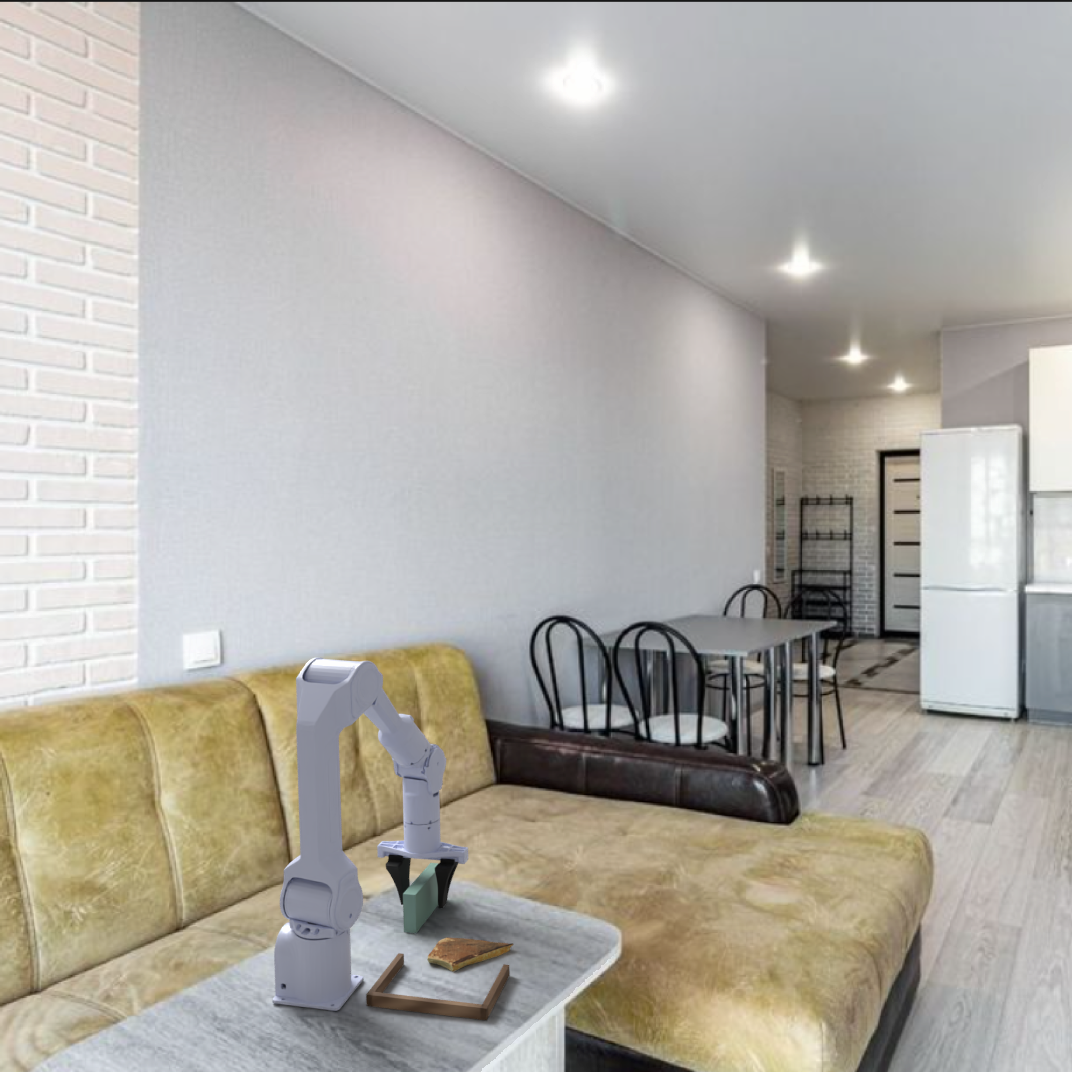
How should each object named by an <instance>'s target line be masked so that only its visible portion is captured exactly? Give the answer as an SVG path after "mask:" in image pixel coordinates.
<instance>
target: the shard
mask: <svg viewBox="0 0 1072 1072" xmlns="http://www.w3.org/2000/svg"><path fill="white" fill-rule="evenodd" d="M513 946H514V943H508V942H496V941H495V942H494V941H489V940H484V939H483V940H482V939H475V938H463V937H461V938H460V937H445V938H442V939H440V940H439V941H437V942H436V943H435V946H434V948H433V949H432V950H431V952H429V953H428V955H427V962H428V963H429V964H433V965H434V964H435V965H438V966H441V967H443V968H445V969H447V970H449V971H450V972H451V973H453V972H456V971H458V970H460V969H462V968H464V967H466V966H469V965H474V964H476V963H481V962H484V961H487V960H490V959H493V958H497V957H499V956H501V955H503V954H506V953H508V952H510V951H511V948H512V947H513Z"/></svg>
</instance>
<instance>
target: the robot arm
mask: <svg viewBox="0 0 1072 1072" xmlns="http://www.w3.org/2000/svg"><path fill="white" fill-rule="evenodd" d="M295 684H296V685H295V686H296V692H295V693H296V713H297V714H296V717H297V718H296V726H295V727H296V728H295V729H296V730H295V731H296V733H295V734H296V757H297V758H296V759H297V760H296V763H297V787H298V788H297V789H298V792H297V793H298V818H299V819H298V822H299V850H300V852H299V855H298V856H297V857H295V858H294V859H293V860H292V861H290V862H289V863H288V864H287V866H285V868H284V869H283V883H282V888H281V890H280V895H279V909H280V913H281V915H282V916H283V917H284V918H285V919H287V920H288V921H289V922H286V923H285V924H284V925H282V927H281V928H280V930H279V932H278V933H277V936H276V939H275V940H276V941H275V945H274V951H273V953H274V954H273V955H274V956H273V959H274V961H273V962H274V989H275V991H274V992H275V993H274V995H275V996H273V998H272V1003H273V1004H278V1005H286V1006H295V1007H303V1008H311V1009H320V1010H328V1011H333V1012H335V1011H339V1010H340V1009H341V1008H342V1007H343V1006H344V1004H345V1003H346V1001H348V1000H349V998H350V997H351V996H352V995H353V994H354V992H355V991H356V990H357V988H358V987H359V986H360V984H361V983H363V981H364V976H363V975H360V974H352V956H351V955H352V952H351V928H352V927H353V926H354V925H355V924H356V922H357V921H358V920H359V917H360V914H361V913H362V909H363V904H364V893H363V888H362V886H361V884H360V881H359V876H358V875H359V874H358V867H357V866H356V864H355V863H354V862H353V861H352V860H351V859H350V858H349V856H348V855H347V854H346V853H345V852H344V851H343V835H342V834H343V833H342V832H343V831H342V830H343V829H342V801H341V800H342V799H341V798H342V797H341V796H342V795H341V794H342V793H341V769H340V768H341V767H340V766H341V765H340V763H341V762H340V734H341V733H342V732H343V730H344V729H345V728H347V727H350V726H352V725H353V724H354V723H355V722H356V721H357V720H358V719H359V718H360V717H361V716H362V715H364V716H365V717H366V718H368V720H369V721H371V722H372V724H373V725H374V726H375V727H376V728H377V729H378V732H377V739H378V741H379V743H380V745H382V747H383V748H384V749H385V750H386V751H387V753H388V754H389V755H390V757H391V760H392V763H393V770H394V773H395V776H398V777H399V778H402V809H403V813H402V815H403V817H402V819H403V840H392V841H391V840H389V841H387V840H381V841H380V843H379V844H377V846H376V847H377V849H376V850H377V858H379V859H380V858H381V859H382V858H385V857H388V859H387V862H386V863H385V870H386V871H387V872H388V874H389V875H390V878H392V881H393V883H394V885H395V888H396V891H397V893H398V898H399V902H400V904H401V906H403V893H404V892H405V891H406V890H407V889H408V888H409V886H410V885H411V883H410V882H411V881H410V872H411V870H410V869H411V861H412V859H414V860H417V859H420V860H430V861H431V860H432V861H439V864H438V865H437V866H436V867H435V874H436V878H437V885H438V906H437V908H438V909H444V908H445V907H446V905H447V903H448V897H449V892H450V887H451V883H452V880H453V878H454V875H455V872H456V869H457V868H458V865H459V864H461V865H465V864H466V863H467V862H468V860H469V847H468V846H460V845H456V844H451V843H448V842H444V841H441V840H442V839H441V808H440V807H441V805H440V803H441V802H440V800H441V799H440V791H441V790H442V787H443V785H444V784H443V781H444V780H443V779H444V773H445V771H446V767H447V757H446V756H445V752H444V750H443V749H442V748H441V747H440V746H439V745H438V744H437V743H436V744H435V743H430V742H429V739H427V737H426V735H425V734H424V733H423V732H422V730H421V729H420V728H419V727H418V725H417V724H416V723H415V722H414V721H415V719H414V717H413V716H412V715H411V714H406V713H398V711H397V709H396V707H395V706H394V705H393V703H392V701H391V700H390V698H389V696H388V695H387V693H386V692H385V690H384V688H383V685H384V675H383V674H382V672H380V671H379V669H378V667H377V665H376V664H375V663H374V662H372V661H370V660H362V661H357V660H342V659H329V658H323V657H313V658H311V659H310V660H308V661H307V662H306V663H305V665H304V666H303V668H302V669H301V670H300V672H299V673H298V674H297V677H296V678H295Z"/></svg>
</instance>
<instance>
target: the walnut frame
mask: <svg viewBox="0 0 1072 1072" xmlns="http://www.w3.org/2000/svg"><path fill="white" fill-rule="evenodd" d="M404 965H405V954H404V953H400V952H398V953H397V954H396V956H395V957H394V959H392V960H391V962H390V964H389V965H388V966H387V967H386V968H385V970H384V971H383V972H382V974H381V975H380V976H379V977H378V979H377V980H376V982H375V983H374V984H373V985H372V986H371V988H370V989H369V990H368V992H367V993H366V994H365V996H366V997H365V998H366V999H365V1000H366V1001H365V1002H366V1004H365V1005H366V1007H371V1008H372V1007H373V1008H382V1009H390V1010H396V1011H397V1010H398V1011H406V1012H413V1013H414V1012H415V1013H422V1014H431V1015H437V1016H438V1015H440V1016H447V1017H448V1016H449V1017H455V1018H463V1019H470V1020H471V1019H473V1020H480V1021H488V1018H489V1016H490V1015H491V1013H492V1011H493V1009H494V1007H495V1005H496V1004H497V1001H498V1000H499V997H500V995H501V993H502V991H503V989H504V987H505V986H506V983H507V982H508V980H509V978H510V964H505V963H504V964H503V965H502V967H501V969H500V971H499V972H498V974H497V976H496V978H495V979H494V982H493V983H492V985H491V988H489V991H488V992H487V995H486V997H485V999H484V1000H483V1003H482V1004H481V1003H473V1002H467V1001H466V1002H465V1001H457V1000H448V999H439V998H429V997H422V996H413V995H404V994H395V993H387V992H385V990H386V989H387V988H388V986H389V985H390V984H391V983H392V981H393V980H394V979H395V977H396V976H397V975H398V973H399V972H400V970H401V969H402V967H403V966H404Z"/></svg>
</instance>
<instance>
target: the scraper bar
mask: <svg viewBox="0 0 1072 1072" xmlns="http://www.w3.org/2000/svg"><path fill="white" fill-rule="evenodd" d="M439 863H440V862H439ZM439 863H438V862H430V863H429V864H427V866H426V867H425V869H423V871H422V872H421V873H420V874H419V875H418V876H417V878H415V880H414V881H413V882H412V883H410V886H409V888H408V889H407V890H406V891H405V892H404V893H403V905H402V906H403V907H402V911H403V913H402V914H403V918H402V919H403V932H404V933H407V934H408V933H409V934H417V933H418V932H419V931H420V929H421V928H422V926H423V925H424V924H425V923H426V922H427V920H428V919H429V918H430V917H431V915H432V914H433V913H434V911H435V910H436V909H437V908H438V885H437V878H436V874H435V867H436V866H437V865H438V864H439Z"/></svg>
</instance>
